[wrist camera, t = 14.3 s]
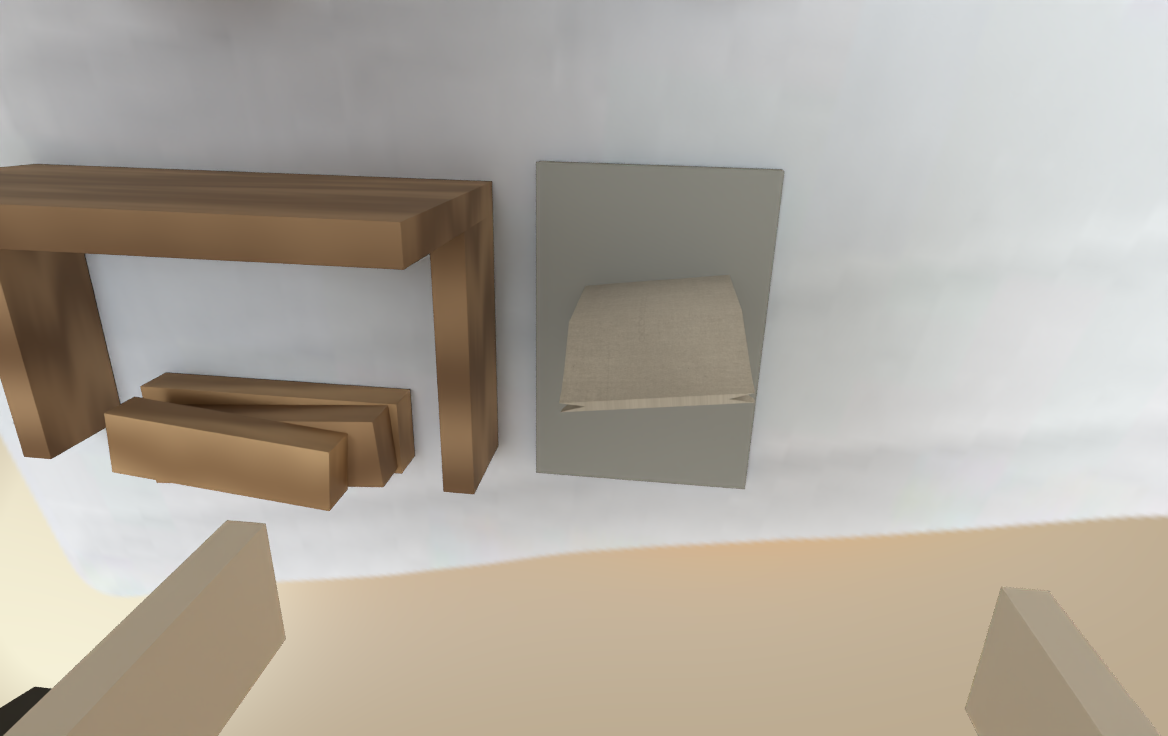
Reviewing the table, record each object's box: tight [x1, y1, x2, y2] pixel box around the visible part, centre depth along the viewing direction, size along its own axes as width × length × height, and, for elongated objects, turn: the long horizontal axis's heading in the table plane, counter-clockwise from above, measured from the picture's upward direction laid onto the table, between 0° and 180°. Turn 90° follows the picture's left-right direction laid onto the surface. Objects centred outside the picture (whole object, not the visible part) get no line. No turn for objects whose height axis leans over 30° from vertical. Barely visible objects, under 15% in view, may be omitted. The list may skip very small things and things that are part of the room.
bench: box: [0, 164, 498, 494], centre depth 31 cm, size 14×24×12 cm, turn 88°
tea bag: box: [559, 275, 755, 412], centre depth 29 cm, size 4×7×10 cm, turn 96°
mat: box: [536, 161, 784, 489], centre depth 34 cm, size 16×11×1 cm
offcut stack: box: [104, 373, 415, 511], centre depth 36 cm, size 5×14×6 cm, turn 88°
